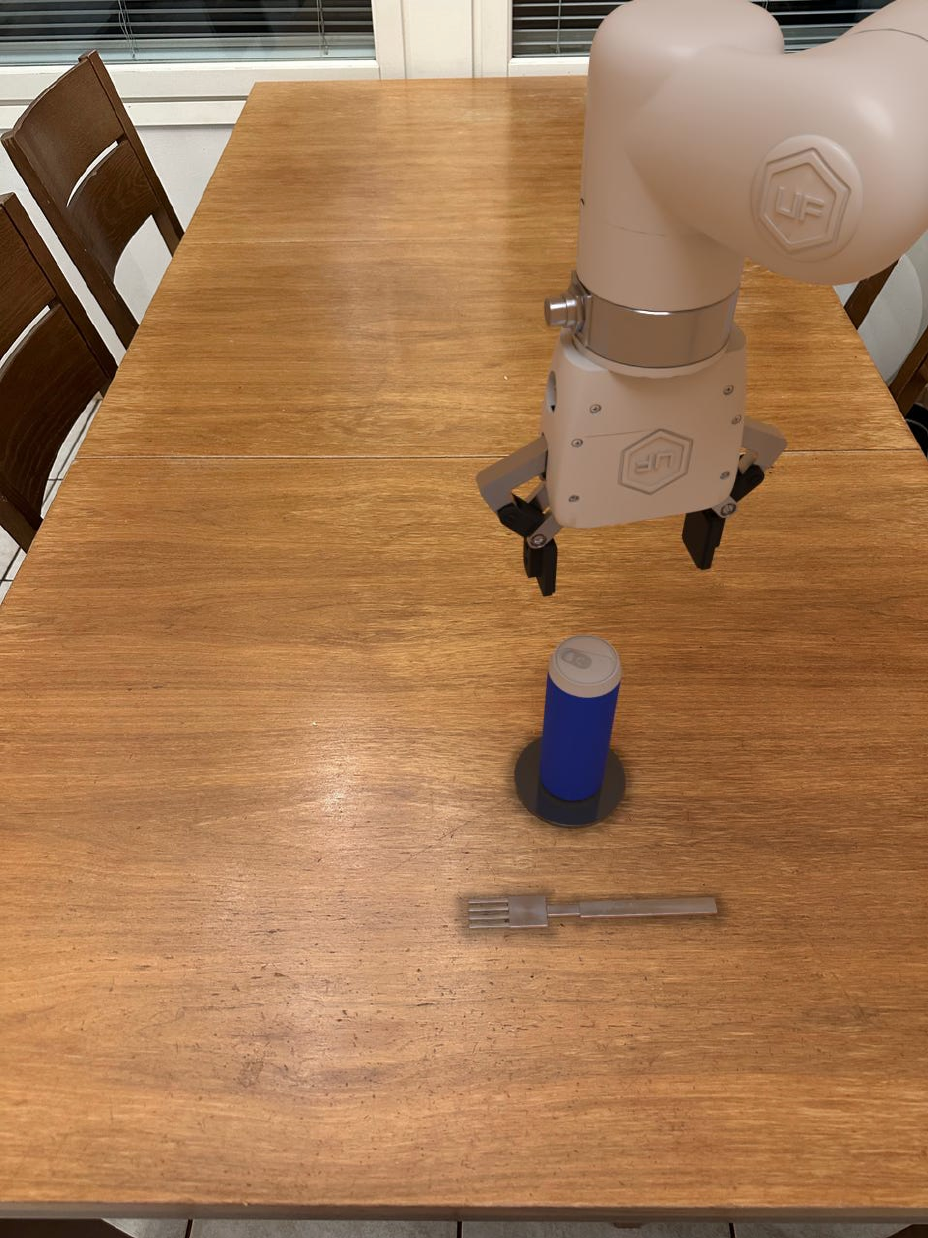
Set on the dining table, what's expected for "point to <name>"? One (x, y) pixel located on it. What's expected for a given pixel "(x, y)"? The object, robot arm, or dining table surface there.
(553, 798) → the coaster
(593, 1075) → the dining table surface
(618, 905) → the fork
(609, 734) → the beverage can
